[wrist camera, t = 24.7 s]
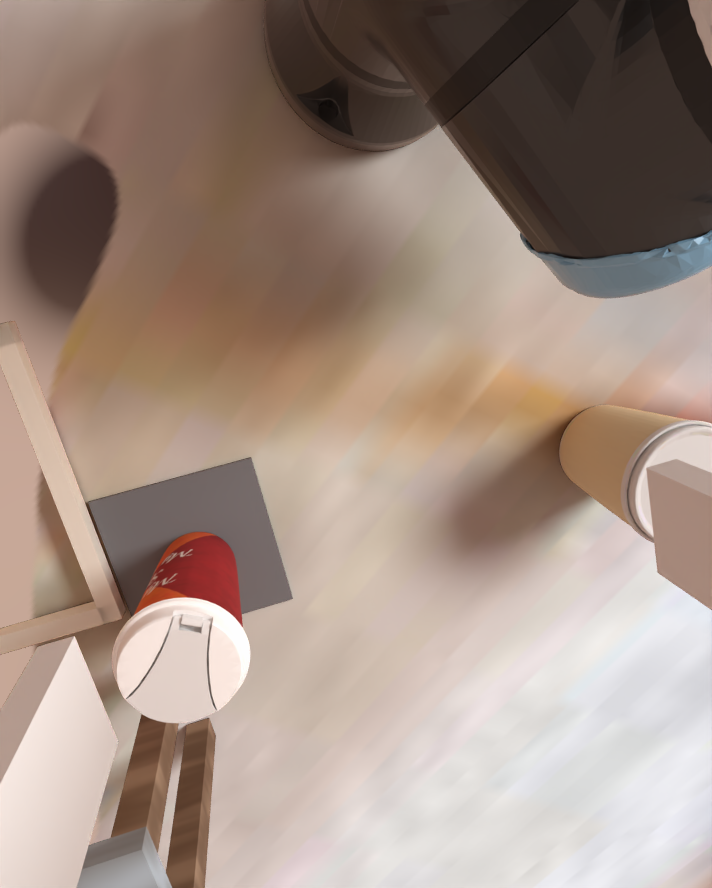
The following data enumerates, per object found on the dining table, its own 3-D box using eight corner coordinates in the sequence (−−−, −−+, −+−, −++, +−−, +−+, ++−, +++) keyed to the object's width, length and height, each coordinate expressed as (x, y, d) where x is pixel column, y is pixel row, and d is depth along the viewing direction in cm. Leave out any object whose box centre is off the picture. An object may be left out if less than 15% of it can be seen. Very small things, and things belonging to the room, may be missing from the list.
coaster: (89, 501, 49) (88, 502, 48) (250, 457, 50) (251, 458, 50) (142, 641, 52) (142, 643, 52) (292, 597, 53) (292, 598, 53)
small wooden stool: (-48, 710, 51) (-234, 974, 31) (181, 641, 53) (141, 849, 33) (-1, 804, 54) (-144, 1102, 34) (215, 736, 55) (197, 980, 36)
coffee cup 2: (604, 515, 57) (695, 572, 45) (529, 463, 54) (604, 510, 43) (666, 430, 56) (775, 467, 44) (592, 374, 53) (687, 397, 42)
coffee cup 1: (158, 508, 49) (121, 598, 35) (260, 528, 51) (264, 621, 37) (137, 603, 51) (94, 725, 37) (237, 619, 53) (232, 742, 38)
